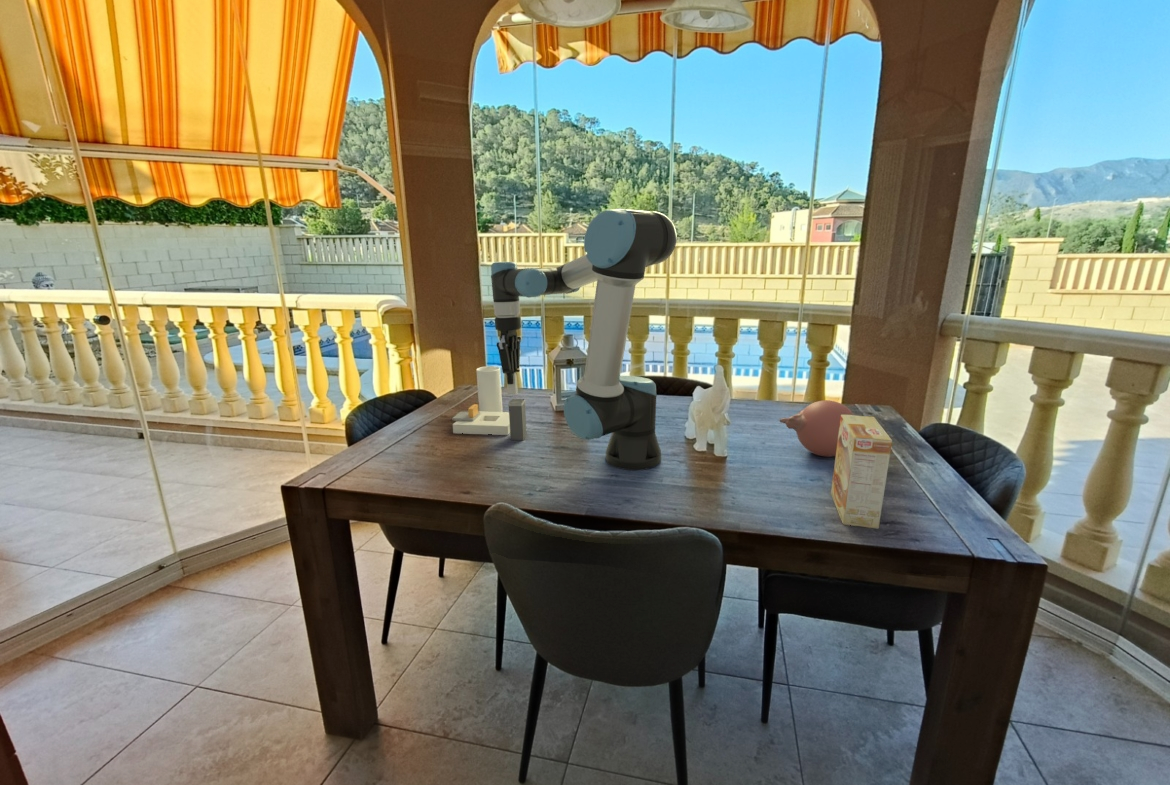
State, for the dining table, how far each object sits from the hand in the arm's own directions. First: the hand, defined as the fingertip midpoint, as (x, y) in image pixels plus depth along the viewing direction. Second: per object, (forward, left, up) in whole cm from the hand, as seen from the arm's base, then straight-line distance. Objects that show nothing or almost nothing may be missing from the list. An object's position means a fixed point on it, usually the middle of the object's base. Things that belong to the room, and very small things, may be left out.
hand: (512, 393), depth 154 cm
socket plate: (+12, -8, -14) cm, 20 cm away
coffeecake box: (-86, +37, -14) cm, 95 cm away
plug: (-1, +1, -14) cm, 14 cm away
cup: (+16, -24, -14) cm, 32 cm away
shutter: (+18, -8, -11) cm, 23 cm away
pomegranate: (-87, +5, -14) cm, 89 cm away
